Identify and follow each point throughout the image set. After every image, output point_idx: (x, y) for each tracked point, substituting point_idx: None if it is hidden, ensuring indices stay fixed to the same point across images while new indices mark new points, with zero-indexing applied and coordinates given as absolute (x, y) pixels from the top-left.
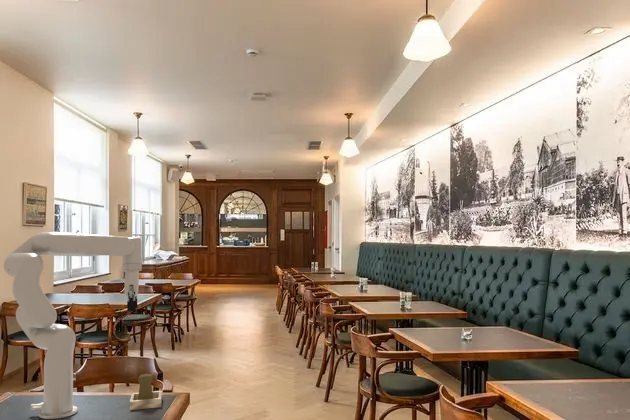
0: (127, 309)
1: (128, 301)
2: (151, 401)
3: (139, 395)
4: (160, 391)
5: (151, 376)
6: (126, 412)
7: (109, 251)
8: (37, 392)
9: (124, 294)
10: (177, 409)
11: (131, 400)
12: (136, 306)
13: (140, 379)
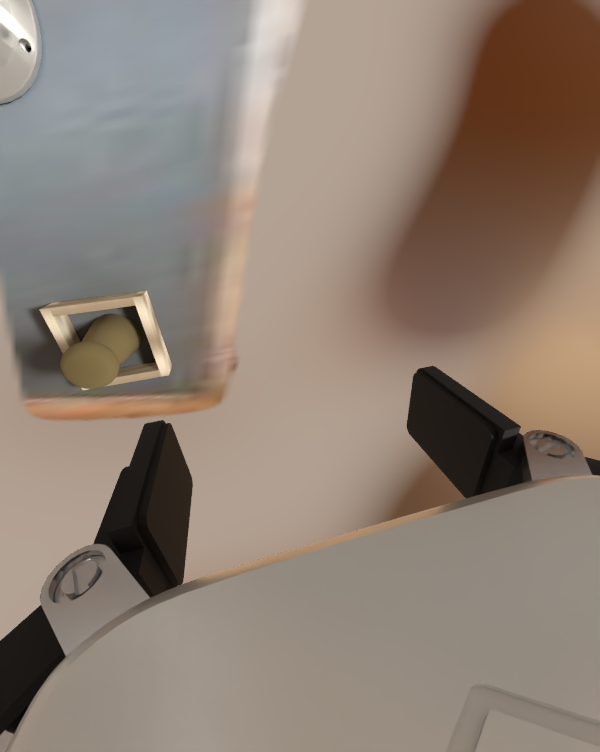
0: (141, 436)
1: (118, 542)
2: None
3: (87, 332)
4: (161, 373)
5: (89, 388)
6: (25, 298)
7: None
8: None
9: (58, 677)
10: (72, 418)
11: (53, 312)
12: (414, 435)
13: (62, 356)
